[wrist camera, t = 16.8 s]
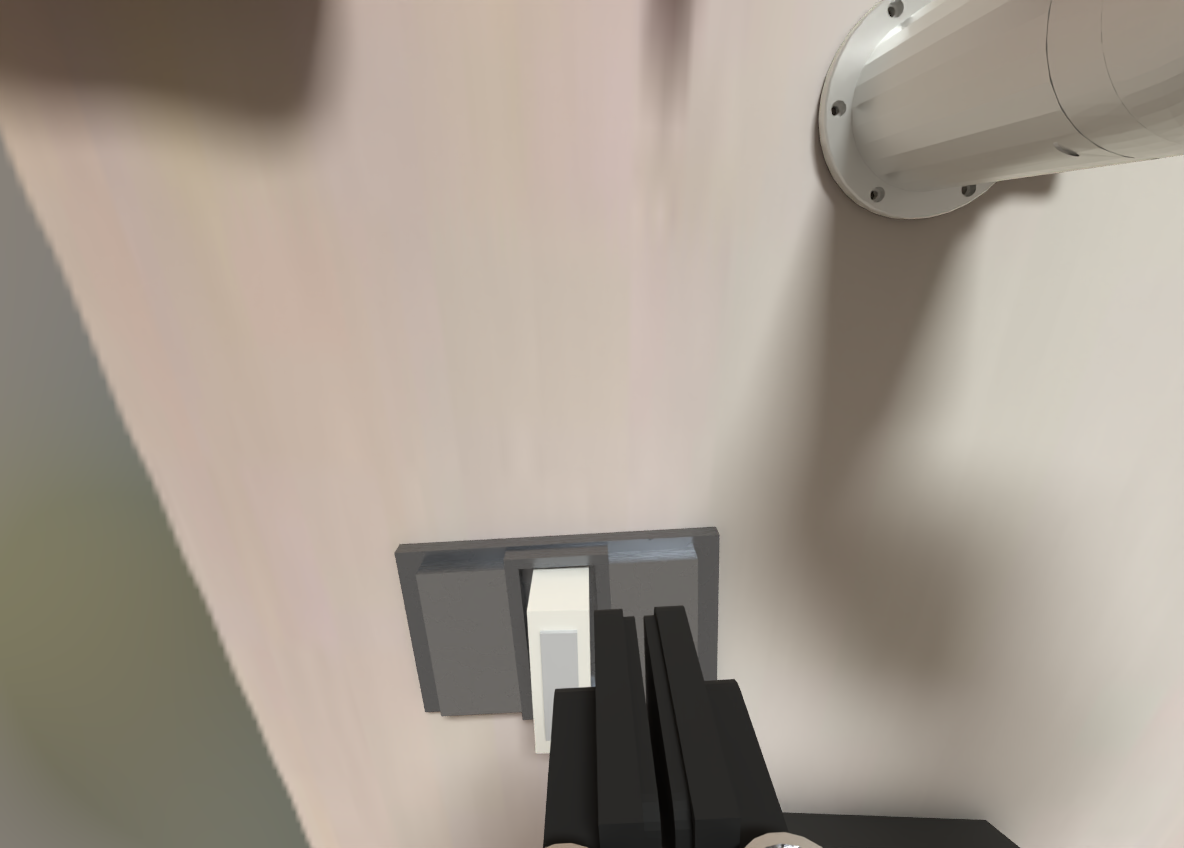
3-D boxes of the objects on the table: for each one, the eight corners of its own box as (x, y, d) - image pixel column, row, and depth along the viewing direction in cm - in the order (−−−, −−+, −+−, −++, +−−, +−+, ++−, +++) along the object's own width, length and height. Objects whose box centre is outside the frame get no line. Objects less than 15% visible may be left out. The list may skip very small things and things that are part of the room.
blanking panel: (588, 559, 42) (589, 613, 36) (591, 687, 45) (592, 756, 39) (534, 560, 42) (526, 614, 36) (541, 689, 45) (535, 757, 39)
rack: (715, 527, 42) (725, 547, 39) (713, 685, 47) (721, 714, 44) (399, 544, 42) (386, 566, 40) (429, 700, 47) (419, 730, 44)
